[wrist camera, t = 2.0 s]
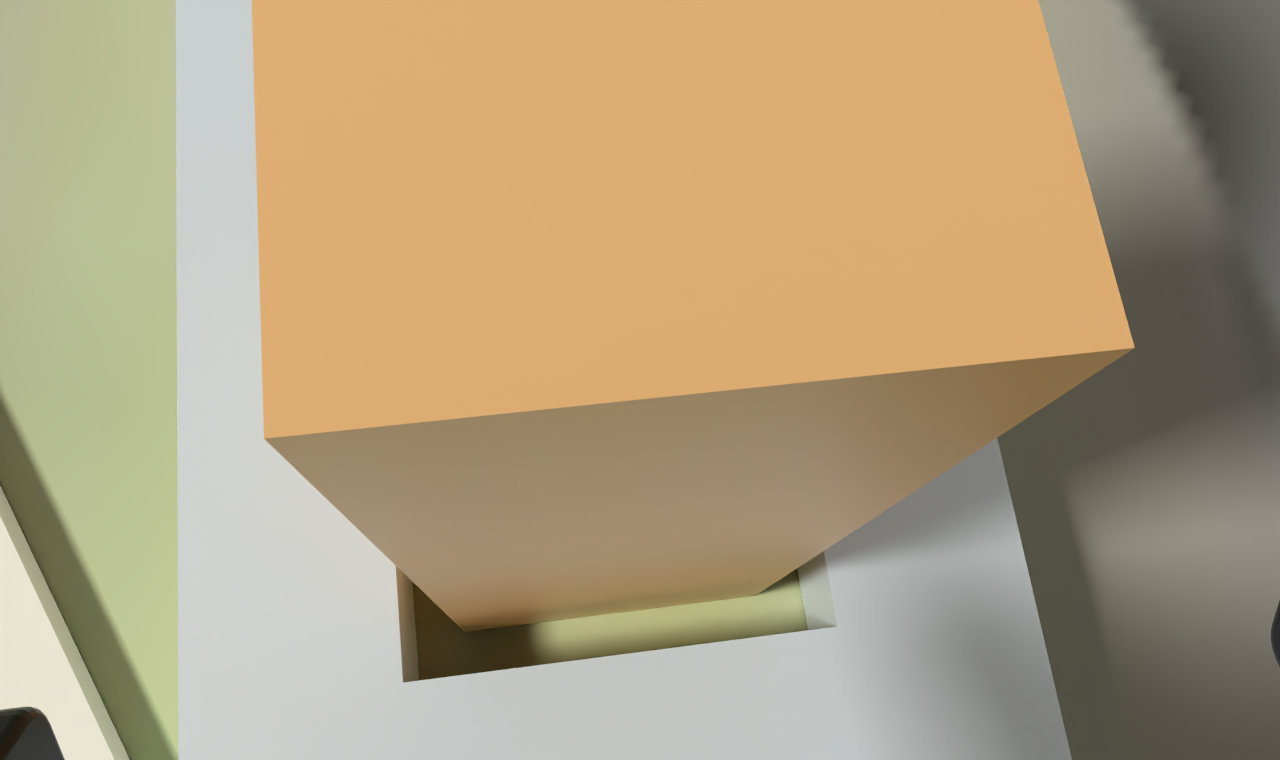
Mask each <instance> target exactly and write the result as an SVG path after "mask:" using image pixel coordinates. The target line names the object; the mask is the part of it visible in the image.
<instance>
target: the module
mask: <svg viewBox="0 0 1280 760" xmlns="http://www.w3.org/2000/svg"><path fill="white" fill-rule="evenodd" d="M252 30H253V66H254V101H255V137H256V173H257V209H258V244H259V280H260V316H261V352H262V387H263V423H264V439H265V440H266V441H267V442H268V443H269V444H270V445H271V446H272V447H273V448H274V449H275V450H276V451H277V452H278V453H279V454H280V455H281V456H282V457H284V458H285V459H286V460H287V461H288V462H289V463H290V464H291V465H292V466H293V467H294V468H295V469H296V470H297V471H298V472H299V473H300V474H301V475H302V476H303V477H304V478H305V479H306V480H307V481H308V482H309V483H311V484H312V485H313V486H314V487H315V488H316V489H317V490H318V491H319V492H320V493H321V494H322V495H323V496H324V497H325V498H326V499H327V500H328V501H329V502H330V503H331V504H332V505H333V506H334V507H335V508H337V509H338V510H339V511H340V512H341V513H342V514H343V515H344V516H345V517H346V518H347V519H348V520H349V521H350V522H351V523H352V524H353V525H354V526H355V527H356V528H357V529H358V530H359V531H360V532H361V533H363V534H364V535H365V536H366V537H367V538H368V539H369V540H370V541H371V542H372V543H373V544H374V545H375V546H376V547H377V548H378V549H379V550H380V551H381V552H382V553H383V554H384V555H385V556H386V557H387V558H388V559H390V560H391V561H392V562H393V563H394V564H395V565H396V566H397V567H398V568H399V569H400V570H401V571H402V572H403V573H404V574H405V575H406V576H407V577H408V578H409V579H410V580H411V581H412V582H413V583H414V584H416V585H417V586H418V587H419V588H420V589H421V590H422V591H423V592H424V593H425V594H426V595H427V596H428V597H429V598H430V599H431V600H432V601H433V602H434V603H435V604H436V605H437V606H438V607H439V608H440V609H442V610H443V611H444V612H445V613H446V614H447V615H448V616H449V617H450V618H451V619H452V620H453V621H454V622H455V623H456V624H457V625H458V626H459V627H460V628H461V629H462V630H463V631H464V632H467V631H475V630H483V629H491V628H499V627H507V626H515V625H523V624H531V623H539V622H547V621H555V620H563V619H571V618H579V617H587V616H595V615H603V614H611V613H619V612H627V611H635V610H643V609H651V608H659V607H667V606H675V605H683V604H691V603H699V602H707V601H715V600H723V599H731V598H739V597H747V596H755V595H757V594H759V593H760V592H762V591H763V590H765V589H766V588H768V587H769V586H771V585H772V584H774V583H775V582H777V581H778V580H780V579H782V578H783V577H785V576H786V575H788V574H789V573H791V572H792V571H794V570H795V569H797V568H798V567H800V566H801V565H803V564H805V563H806V562H808V561H809V560H811V559H812V558H814V557H815V556H817V555H818V554H820V553H821V552H823V551H824V550H826V549H827V548H829V547H831V546H832V545H834V544H835V543H837V542H838V541H840V540H841V539H843V538H844V537H846V536H847V535H849V534H850V533H852V532H854V531H855V530H857V529H858V528H860V527H861V526H863V525H864V524H866V523H867V522H869V521H870V520H872V519H873V518H875V517H877V516H878V515H880V514H881V513H883V512H884V511H886V510H887V509H889V508H890V507H892V506H893V505H895V504H896V503H898V502H899V501H901V500H903V499H904V498H906V497H907V496H909V495H910V494H912V493H913V492H915V491H916V490H918V489H919V488H921V487H922V486H924V485H926V484H927V483H929V482H930V481H932V480H933V479H935V478H936V477H938V476H939V475H941V474H942V473H944V472H945V471H947V470H948V469H950V468H952V467H953V466H955V465H956V464H958V463H959V462H961V461H962V460H964V459H965V458H967V457H968V456H970V455H971V454H973V453H975V452H976V451H978V450H979V449H981V448H982V447H984V446H985V445H987V444H988V443H990V442H991V441H993V440H994V439H996V438H998V437H999V436H1001V435H1002V434H1004V433H1005V432H1007V431H1008V430H1010V429H1011V428H1013V427H1014V426H1016V425H1017V424H1019V423H1020V422H1022V421H1024V420H1025V419H1027V418H1028V417H1030V416H1031V415H1033V414H1034V413H1036V412H1037V411H1039V410H1040V409H1042V408H1043V407H1045V406H1047V405H1048V404H1050V403H1051V402H1053V401H1054V400H1056V399H1057V398H1059V397H1060V396H1062V395H1063V394H1065V393H1066V392H1068V391H1070V390H1071V389H1073V388H1074V387H1076V386H1077V385H1079V384H1080V383H1082V382H1083V381H1085V380H1086V379H1088V378H1089V377H1091V376H1092V375H1094V374H1096V373H1097V372H1099V371H1100V370H1102V369H1103V368H1105V367H1106V366H1108V365H1109V364H1111V363H1112V362H1114V361H1115V360H1117V359H1119V358H1120V357H1122V356H1123V355H1125V354H1126V353H1128V352H1129V351H1131V350H1132V349H1134V348H1135V347H1134V343H1133V340H1132V336H1131V333H1130V329H1129V325H1128V322H1127V318H1126V315H1125V311H1124V307H1123V304H1122V300H1121V297H1120V293H1119V289H1118V286H1117V282H1116V279H1115V275H1114V271H1113V268H1112V264H1111V261H1110V257H1109V253H1108V250H1107V246H1106V243H1105V239H1104V235H1103V232H1102V228H1101V225H1100V221H1099V217H1098V214H1097V210H1096V207H1095V203H1094V199H1093V196H1092V192H1091V189H1090V185H1089V181H1088V178H1087V174H1086V171H1085V167H1084V163H1083V160H1082V156H1081V153H1080V149H1079V145H1078V142H1077V138H1076V135H1075V131H1074V127H1073V124H1072V120H1071V117H1070V113H1069V109H1068V106H1067V102H1066V99H1065V95H1064V91H1063V88H1062V84H1061V81H1060V77H1059V73H1058V70H1057V66H1056V63H1055V59H1054V55H1053V52H1052V48H1051V45H1050V41H1049V37H1048V34H1047V30H1046V27H1045V23H1044V19H1043V16H1042V12H1041V9H1040V5H1039V1H1038V0H252Z"/></svg>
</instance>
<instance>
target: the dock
mask: <svg viewBox="0 0 1280 760" xmlns="http://www.w3.org/2000/svg"><path fill="white" fill-rule="evenodd" d="M176 186H177V457H178V728H179V760H1072V757H1071V753H1070V748H1069V744H1068V740H1067V736H1066V731H1065V727H1064V723H1063V718H1062V714H1061V710H1060V705H1059V701H1058V697H1057V693H1056V688H1055V684H1054V680H1053V675H1052V671H1051V667H1050V662H1049V658H1048V654H1047V650H1046V645H1045V641H1044V637H1043V632H1042V628H1041V624H1040V620H1039V615H1038V611H1037V607H1036V602H1035V598H1034V594H1033V589H1032V585H1031V581H1030V577H1029V572H1028V568H1027V564H1026V559H1025V555H1024V551H1023V546H1022V542H1021V538H1020V534H1019V529H1018V525H1017V521H1016V516H1015V512H1014V508H1013V503H1012V499H1011V495H1010V491H1009V486H1008V482H1007V478H1006V473H1005V469H1004V465H1003V461H1002V456H1001V452H1000V448H999V443H998V439H997V438H996V439H994V440H993V441H991V442H990V443H988V444H987V445H985V446H984V447H982V448H981V449H979V450H978V451H976V452H975V453H973V454H971V455H970V456H968V457H967V458H965V459H964V460H962V461H961V462H959V463H958V464H956V465H955V466H953V467H952V468H950V469H948V470H947V471H945V472H944V473H942V474H941V475H939V476H938V477H936V478H935V479H933V480H932V481H930V482H929V483H927V484H926V485H924V486H922V487H921V488H919V489H918V490H916V491H915V492H913V493H912V494H910V495H909V496H907V497H906V498H904V499H903V500H901V501H899V502H898V503H896V504H895V505H893V506H892V507H890V508H889V509H887V510H886V511H884V512H883V513H881V514H880V515H878V516H877V517H875V518H873V519H872V520H870V521H869V522H867V523H866V524H864V525H863V526H861V527H860V528H858V529H857V530H855V531H854V532H852V533H850V534H849V535H847V536H846V537H844V538H843V539H841V540H840V541H838V542H837V543H835V544H834V545H832V546H831V547H829V548H827V549H826V550H824V551H823V552H821V553H820V554H818V555H817V556H815V557H814V558H812V559H811V560H809V561H808V562H806V563H805V564H803V565H801V566H800V567H798V568H797V569H798V575H799V581H800V587H801V593H802V599H803V605H804V610H805V616H806V622H807V628H808V630H807V631H799V632H791V633H783V634H776V635H768V636H760V637H752V638H745V639H737V640H729V641H721V642H714V643H706V644H698V645H690V646H683V647H675V648H667V649H659V650H652V651H644V652H636V653H629V654H621V655H613V656H605V657H598V658H590V659H582V660H574V661H567V662H559V663H551V664H543V665H536V666H528V667H520V668H512V669H505V670H497V671H489V672H481V673H474V674H466V675H458V676H450V677H443V678H435V679H427V680H419V670H418V655H417V640H416V625H415V610H414V595H413V582H412V581H411V580H410V579H409V578H408V577H407V576H406V575H405V574H404V573H403V572H402V571H401V570H400V569H399V568H398V567H397V566H396V565H395V564H394V563H393V562H392V561H391V560H390V559H388V558H387V557H386V556H385V555H384V554H383V553H382V552H381V551H380V550H379V549H378V548H377V547H376V546H375V545H374V544H373V543H372V542H371V541H370V540H369V539H368V538H367V537H366V536H365V535H364V534H363V533H361V532H360V531H359V530H358V529H357V528H356V527H355V526H354V525H353V524H352V523H351V522H350V521H349V520H348V519H347V518H346V517H345V516H344V515H343V514H342V513H341V512H340V511H339V510H338V509H337V508H335V507H334V506H333V505H332V504H331V503H330V502H329V501H328V500H327V499H326V498H325V497H324V496H323V495H322V494H321V493H320V492H319V491H318V490H317V489H316V488H315V487H314V486H313V485H312V484H311V483H309V482H308V481H307V480H306V479H305V478H304V477H303V476H302V475H301V474H300V473H299V472H298V471H297V470H296V469H295V468H294V467H293V466H292V465H291V464H290V463H289V462H288V461H287V460H286V459H285V458H284V457H282V456H281V455H280V454H279V453H278V452H277V451H276V450H275V449H274V448H273V447H272V446H271V445H270V444H269V443H268V442H267V441H266V440H265V439H264V423H263V387H262V352H261V316H260V280H259V244H258V209H257V173H256V137H255V101H254V66H253V30H252V0H176Z"/></svg>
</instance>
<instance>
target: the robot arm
mask: <svg viewBox="0 0 1280 760" xmlns="http://www.w3.org/2000/svg"><path fill="white" fill-rule="evenodd" d="M1271 642H1272V648H1273V651H1274V654H1275V657H1276V660H1277V662H1278V664H1279V666H1280V601H1279V604H1278V608H1277V611H1276V614H1275V617H1274V621H1273V624H1272V629H1271ZM0 760H65V759H64V756H63V754H62V752H61V749H60V747H59V744H58V742H57V739H56V737H55V734H54V732H53V729H52V727H51V724H50V722H49V721H48V719H47V717H46V715H45V714H44V713H43V712H42V711H41V710H39V709H37V708H34V707H18V708H10V709H2V710H0Z"/></svg>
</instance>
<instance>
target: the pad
mask: <svg viewBox="0 0 1280 760" xmlns="http://www.w3.org/2000/svg"><path fill="white" fill-rule="evenodd" d="M18 707H34V708H37V709H39V710H41V711H42V712H43V713H44V714H45V715H46V717H47V719H48V721H49V722H50V724H51V727H52V729H53V732H54V734H55V737H56V739H57V742H58V744H59V747H60V749H61V752H62V754H63V756H64V759H65V760H130V759H129V757H128V755H127V753H126V751H125V748H124V746H123V744H122V742H121V740H120V738H119V736H118V734H117V731H116V729H115V727H114V725H113V723H112V721H111V719H110V717H109V715H108V712H107V710H106V708H105V706H104V704H103V702H102V700H101V698H100V695H99V693H98V691H97V689H96V687H95V685H94V683H93V681H92V679H91V676H90V674H89V672H88V670H87V668H86V666H85V664H84V662H83V660H82V657H81V655H80V653H79V651H78V649H77V647H76V645H75V643H74V640H73V638H72V636H71V634H70V632H69V630H68V628H67V626H66V624H65V621H64V619H63V617H62V615H61V613H60V611H59V609H58V607H57V604H56V602H55V600H54V598H53V596H52V594H51V592H50V590H49V588H48V585H47V583H46V581H45V579H44V577H43V575H42V573H41V571H40V569H39V566H38V564H37V562H36V560H35V558H34V556H33V554H32V552H31V549H30V547H29V545H28V543H27V541H26V539H25V537H24V535H23V533H22V530H21V528H20V526H19V524H18V522H17V520H16V518H15V516H14V513H13V511H12V509H11V507H10V505H9V503H8V501H7V499H6V497H5V494H4V492H3V490H2V488H1V486H0V710H2V709H10V708H18Z"/></svg>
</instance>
